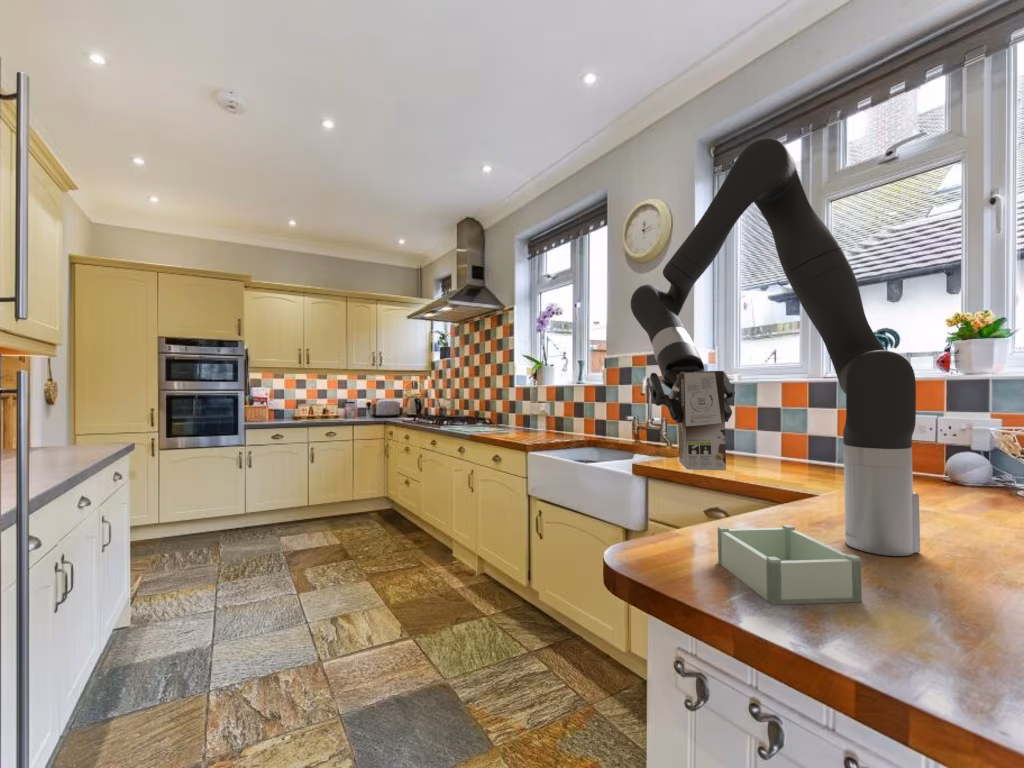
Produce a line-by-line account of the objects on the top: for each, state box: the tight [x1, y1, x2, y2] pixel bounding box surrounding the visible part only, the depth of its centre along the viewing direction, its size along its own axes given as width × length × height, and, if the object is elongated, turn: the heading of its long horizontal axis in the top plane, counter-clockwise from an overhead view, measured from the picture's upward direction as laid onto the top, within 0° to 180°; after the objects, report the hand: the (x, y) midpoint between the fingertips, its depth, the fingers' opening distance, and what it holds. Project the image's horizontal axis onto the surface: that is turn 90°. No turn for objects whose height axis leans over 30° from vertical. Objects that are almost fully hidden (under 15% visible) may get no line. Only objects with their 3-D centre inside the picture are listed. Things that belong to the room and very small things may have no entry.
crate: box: [717, 524, 863, 606], centre depth 68 cm, size 12×15×6 cm
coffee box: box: [676, 370, 727, 471], centre depth 82 cm, size 9×6×16 cm
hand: (703, 419), depth 80 cm, fingers closed on coffee box, 7 cm apart
